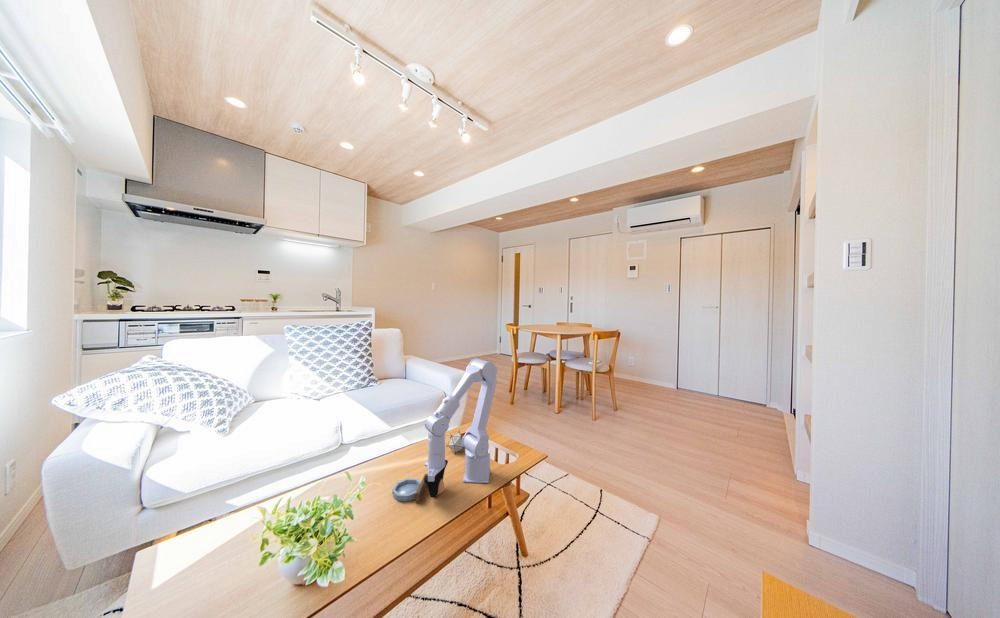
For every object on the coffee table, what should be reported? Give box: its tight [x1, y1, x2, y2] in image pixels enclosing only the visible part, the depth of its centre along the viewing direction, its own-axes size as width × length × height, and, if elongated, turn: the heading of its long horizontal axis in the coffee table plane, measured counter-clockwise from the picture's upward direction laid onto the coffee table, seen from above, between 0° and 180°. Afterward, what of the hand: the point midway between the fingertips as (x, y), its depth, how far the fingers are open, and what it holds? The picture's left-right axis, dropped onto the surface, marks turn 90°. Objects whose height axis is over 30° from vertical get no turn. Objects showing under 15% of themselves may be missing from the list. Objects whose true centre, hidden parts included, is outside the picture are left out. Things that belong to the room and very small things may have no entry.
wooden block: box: [415, 473, 428, 505], centre depth 105 cm, size 1×11×4 cm, turn 178°
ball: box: [437, 479, 445, 496], centre depth 104 cm, size 5×5×5 cm
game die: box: [445, 430, 465, 455], centre depth 133 cm, size 9×8×10 cm
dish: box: [391, 478, 421, 503], centre depth 105 cm, size 9×9×2 cm
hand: (436, 489), depth 105 cm, fingers open, 7 cm apart
